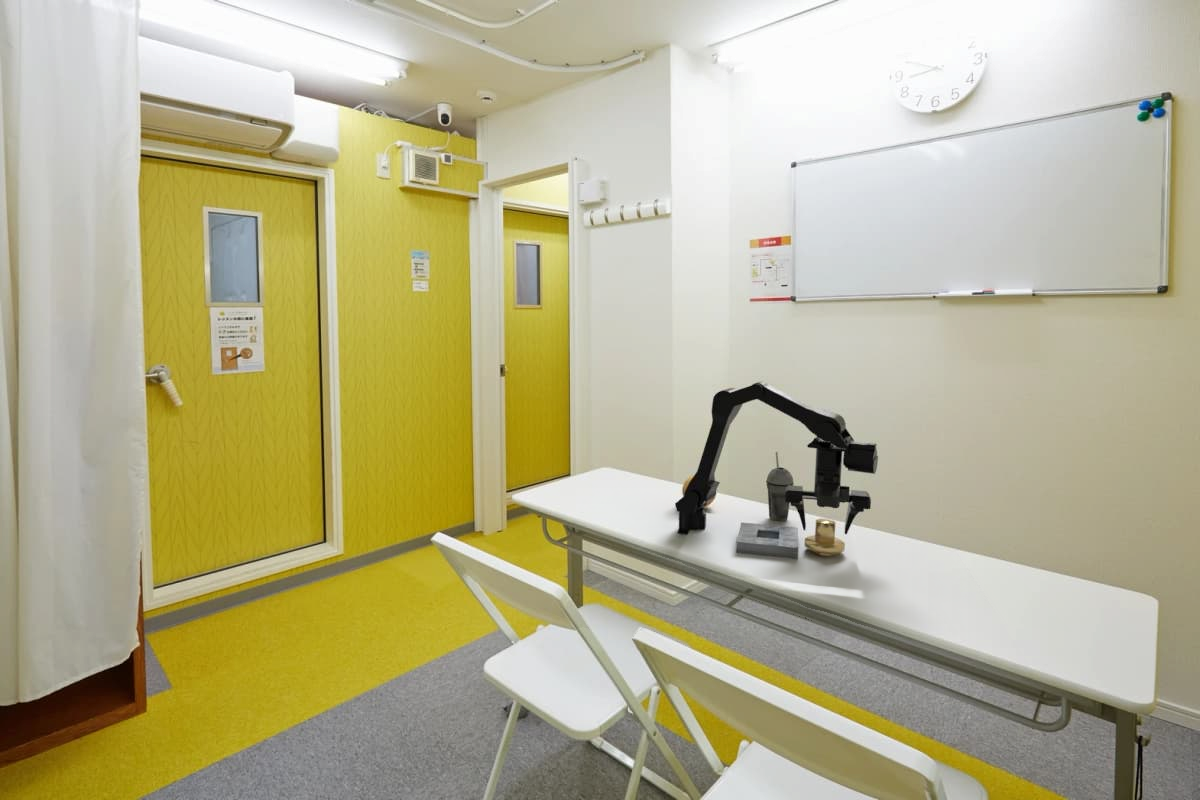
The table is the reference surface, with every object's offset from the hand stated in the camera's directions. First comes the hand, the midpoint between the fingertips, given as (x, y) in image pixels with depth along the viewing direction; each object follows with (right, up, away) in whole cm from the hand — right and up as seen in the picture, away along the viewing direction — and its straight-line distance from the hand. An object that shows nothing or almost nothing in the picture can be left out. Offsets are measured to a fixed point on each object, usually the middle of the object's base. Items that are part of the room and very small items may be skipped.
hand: (824, 531), depth 152 cm
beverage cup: (-4, -3, +25) cm, 25 cm away
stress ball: (-24, -1, +38) cm, 45 cm away
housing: (-12, -6, +6) cm, 15 cm away
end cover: (0, -6, +1) cm, 6 cm away
